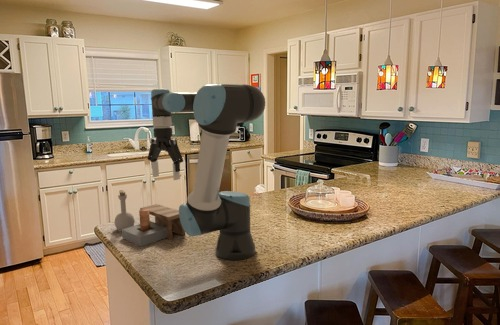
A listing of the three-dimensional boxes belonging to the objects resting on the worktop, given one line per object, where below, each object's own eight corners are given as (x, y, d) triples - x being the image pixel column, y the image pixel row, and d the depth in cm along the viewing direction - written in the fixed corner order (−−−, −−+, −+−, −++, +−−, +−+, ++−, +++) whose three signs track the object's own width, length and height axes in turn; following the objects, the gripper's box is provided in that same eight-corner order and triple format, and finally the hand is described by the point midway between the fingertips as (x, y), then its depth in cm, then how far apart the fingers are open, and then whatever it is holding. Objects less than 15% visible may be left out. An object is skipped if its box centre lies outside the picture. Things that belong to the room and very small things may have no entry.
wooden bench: (186, 234, 158) (184, 212, 157) (169, 240, 152) (168, 217, 151) (157, 224, 172) (156, 203, 171) (141, 229, 166) (140, 208, 164)
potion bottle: (128, 224, 173) (125, 187, 170) (138, 228, 167) (136, 190, 164) (110, 229, 166) (107, 191, 163) (121, 233, 161) (118, 194, 158)
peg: (152, 237, 156) (150, 210, 154) (144, 240, 153) (142, 212, 151) (147, 235, 159) (145, 208, 157) (139, 237, 156) (137, 210, 154)
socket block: (169, 236, 156) (169, 227, 156) (140, 246, 146) (140, 237, 145) (150, 229, 165) (150, 221, 165) (122, 238, 155) (121, 229, 154)
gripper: (190, 126, 146) (193, 179, 149) (151, 126, 161) (154, 174, 164) (175, 128, 140) (178, 182, 143) (136, 127, 156) (140, 176, 159)
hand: (166, 178), depth 154 cm, fingers open, 13 cm apart
